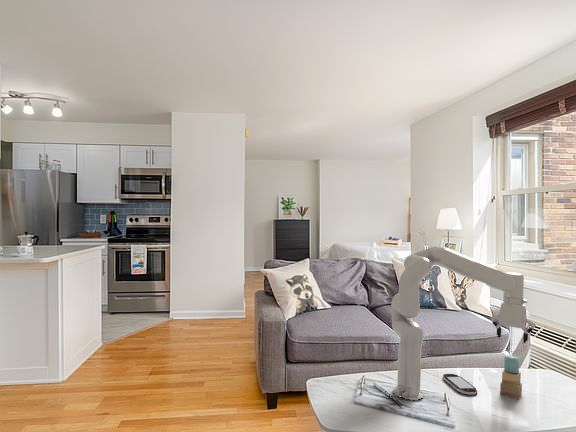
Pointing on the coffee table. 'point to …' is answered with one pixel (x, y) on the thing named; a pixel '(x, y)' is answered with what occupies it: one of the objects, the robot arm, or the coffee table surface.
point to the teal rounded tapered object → (511, 364)
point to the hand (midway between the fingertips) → (511, 339)
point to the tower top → (511, 378)
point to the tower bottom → (511, 391)
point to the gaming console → (460, 384)
